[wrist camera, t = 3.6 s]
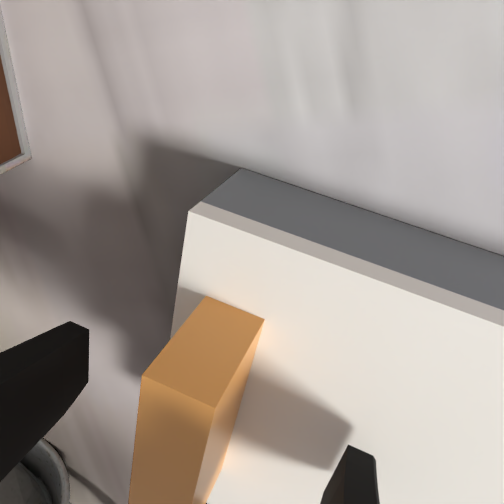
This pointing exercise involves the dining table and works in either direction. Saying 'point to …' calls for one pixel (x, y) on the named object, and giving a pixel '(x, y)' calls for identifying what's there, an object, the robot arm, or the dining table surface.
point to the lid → (315, 377)
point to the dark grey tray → (365, 235)
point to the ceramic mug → (37, 478)
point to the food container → (10, 112)
